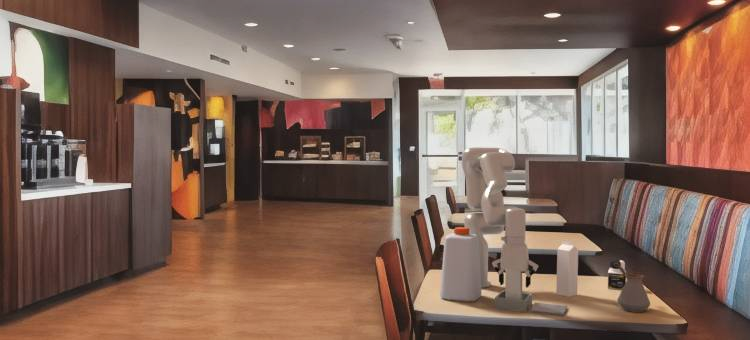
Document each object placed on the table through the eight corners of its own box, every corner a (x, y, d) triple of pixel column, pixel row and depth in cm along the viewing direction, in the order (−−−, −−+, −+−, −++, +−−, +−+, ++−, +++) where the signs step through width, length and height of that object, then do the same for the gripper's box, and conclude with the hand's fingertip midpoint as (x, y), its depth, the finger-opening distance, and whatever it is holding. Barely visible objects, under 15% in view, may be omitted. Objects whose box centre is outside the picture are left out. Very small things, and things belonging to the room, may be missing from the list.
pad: (529, 312, 226) (529, 309, 226) (535, 304, 237) (535, 302, 237) (563, 316, 221) (563, 313, 221) (567, 308, 232) (567, 306, 232)
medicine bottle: (607, 288, 265) (608, 261, 265) (608, 285, 272) (608, 258, 271) (625, 290, 262) (626, 262, 262) (625, 286, 269) (626, 259, 269)
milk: (568, 297, 249) (569, 243, 248) (555, 294, 254) (557, 241, 253) (577, 295, 253) (578, 241, 252) (565, 292, 258) (566, 239, 257)
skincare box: (520, 309, 230) (521, 270, 229) (504, 308, 232) (505, 268, 231) (522, 304, 238) (523, 265, 237) (506, 302, 240) (507, 264, 239)
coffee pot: (656, 313, 227) (657, 273, 226) (625, 313, 226) (626, 273, 225) (629, 298, 248) (630, 261, 247) (601, 298, 247) (602, 261, 247)
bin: (494, 308, 231) (494, 297, 231) (502, 300, 243) (502, 290, 243) (525, 311, 227) (526, 301, 226) (532, 303, 238) (532, 293, 238)
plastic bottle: (447, 291, 257) (448, 224, 256) (483, 294, 252) (484, 226, 251) (437, 299, 243) (438, 229, 242) (475, 303, 238) (476, 231, 237)
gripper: (490, 240, 234) (489, 285, 234) (536, 243, 227) (536, 289, 227) (494, 238, 241) (494, 281, 241) (540, 240, 233) (539, 285, 234)
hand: (514, 285), depth 234 cm, fingers open, 9 cm apart
